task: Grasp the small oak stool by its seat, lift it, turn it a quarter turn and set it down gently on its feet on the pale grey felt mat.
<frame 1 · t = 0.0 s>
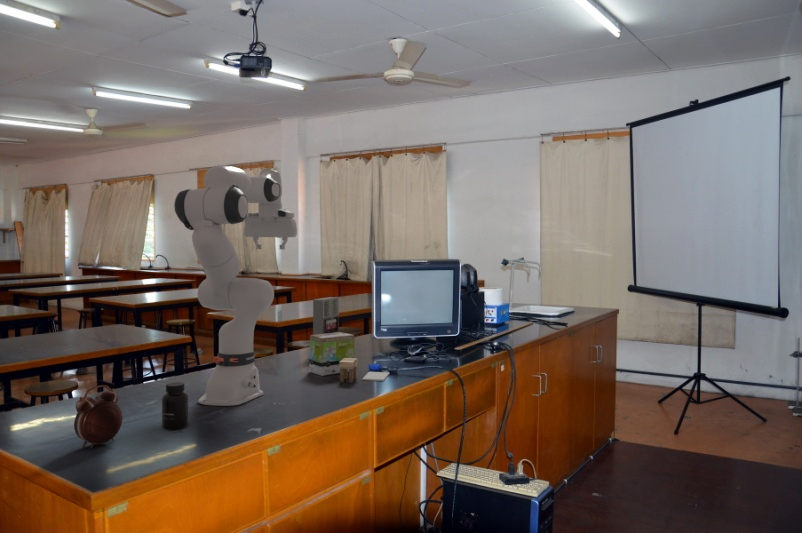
hand: (270, 249, 232), 48 cm above the table, tool pointing down, fingers open, 8 cm apart
mat: (376, 377, 230), on the table
supplement bottle: (175, 427, 168), on the table
cassette tape recorder: (326, 353, 277), on the table
alarm clock: (98, 445, 153), on the table
tea box: (331, 372, 239), on the table
stool: (348, 380, 224), on the table
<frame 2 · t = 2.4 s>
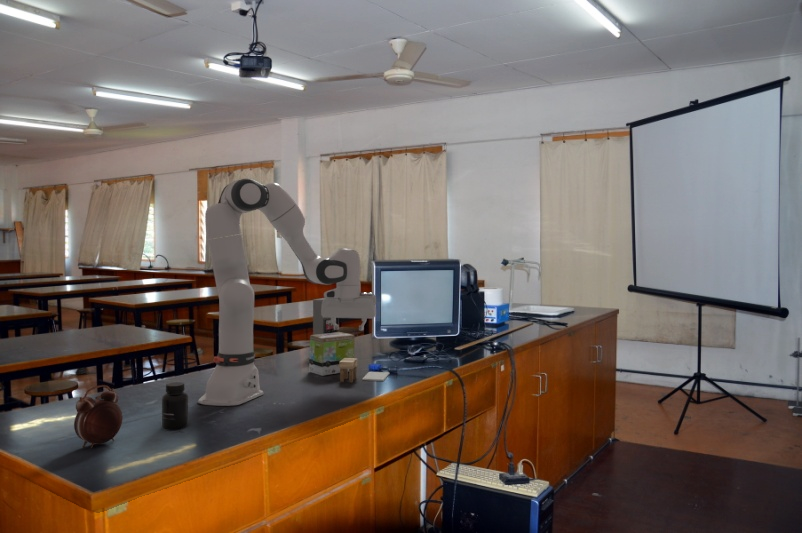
hand: (348, 330, 224), 19 cm above the table, tool pointing down, fingers open, 8 cm apart
nothing on the table moved.
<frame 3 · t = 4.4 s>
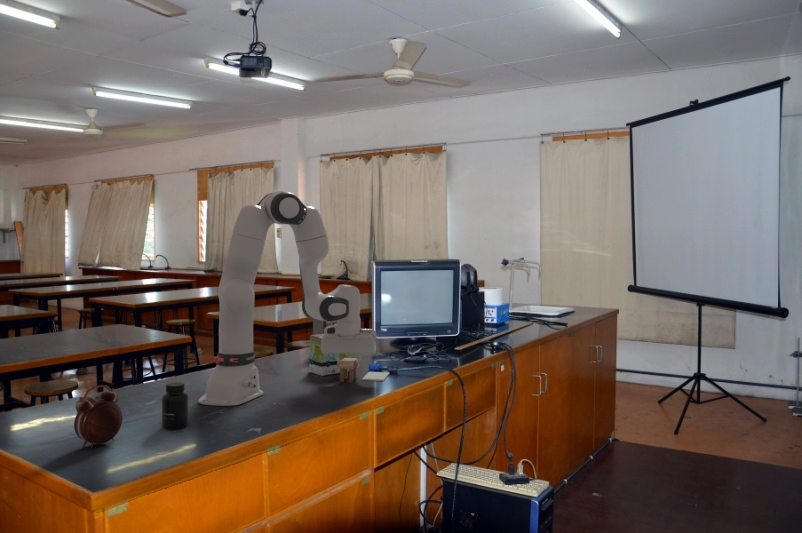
hand: (348, 365, 224), 5 cm above the table, tool pointing down, fingers closed on stool, 5 cm apart
stool: (348, 380, 224), on the table, touching gripper
everything else where it was.
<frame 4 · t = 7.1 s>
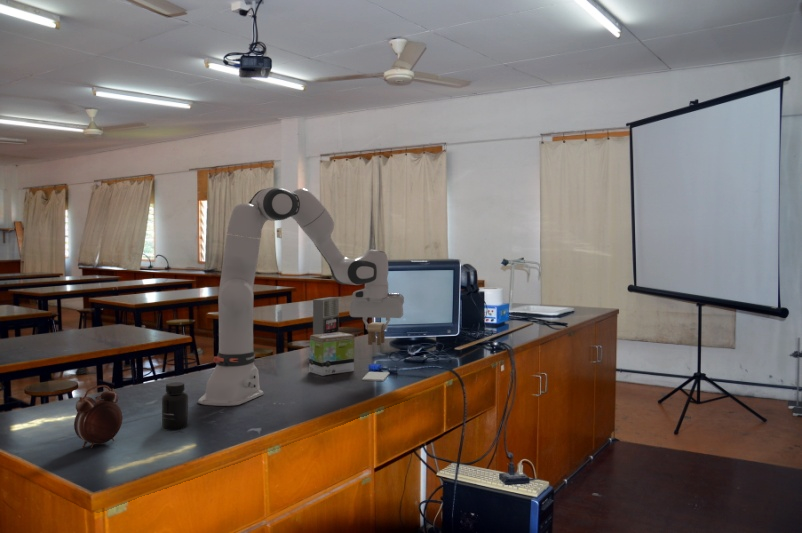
hand: (376, 329, 229), 18 cm above the table, tool pointing down, fingers closed on stool, 5 cm apart
stool: (376, 343, 229), point 13 cm above the table, touching gripper
everything else where it was.
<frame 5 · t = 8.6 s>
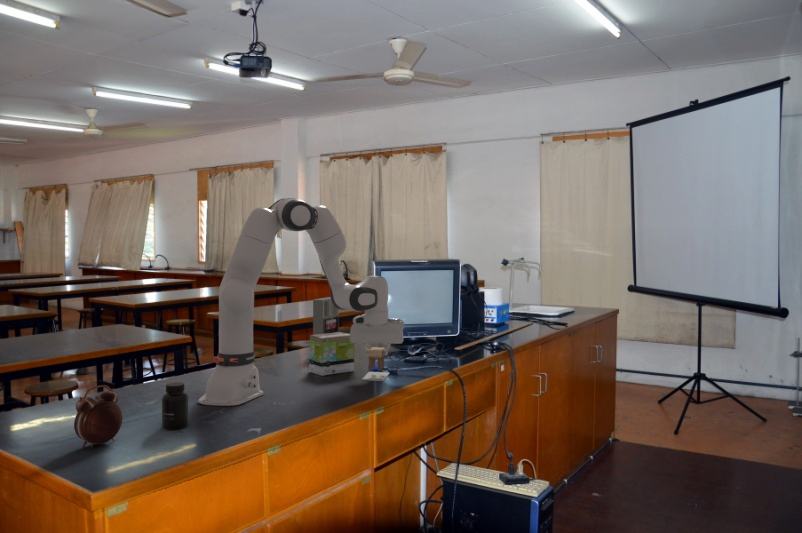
hand: (376, 354, 229), 8 cm above the table, tool pointing down, fingers closed on stool, 5 cm apart
stool: (376, 368, 230), point 3 cm above the table, touching gripper
everything else where it was.
when the fingers open (7 cm above the table, at t = 9.8 s): stool stays where it is, resting on mat.
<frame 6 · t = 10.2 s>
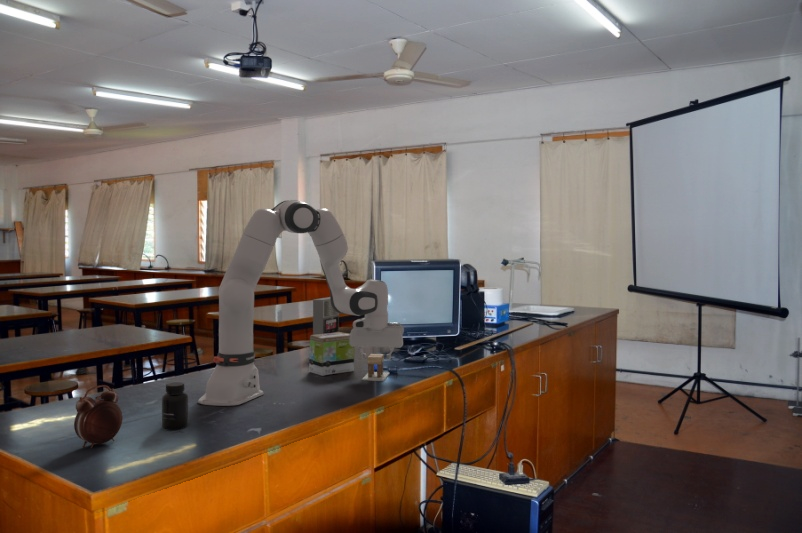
hand: (376, 358, 229), 7 cm above the table, tool pointing down, fingers open, 8 cm apart
stool: (375, 375, 230), point 1 cm above the table, touching mat
everything else where it was.
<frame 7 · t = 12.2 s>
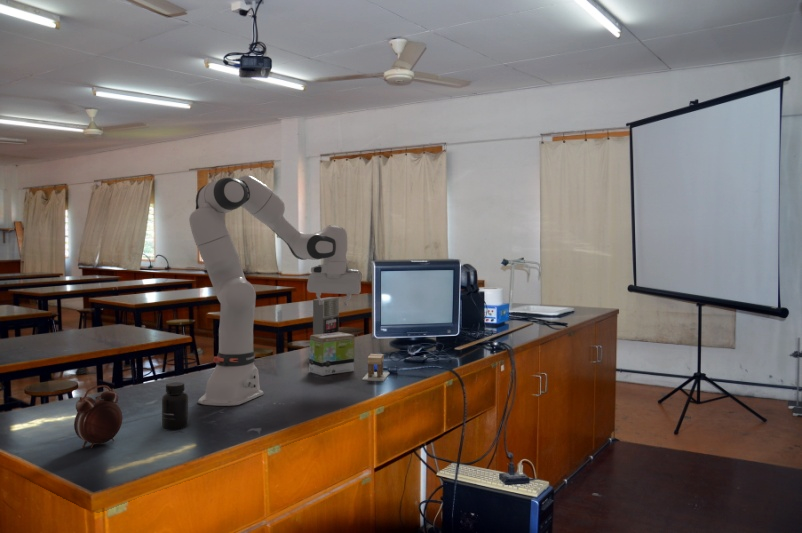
hand: (333, 305, 230), 27 cm above the table, tool pointing down, fingers open, 8 cm apart
nothing on the table moved.
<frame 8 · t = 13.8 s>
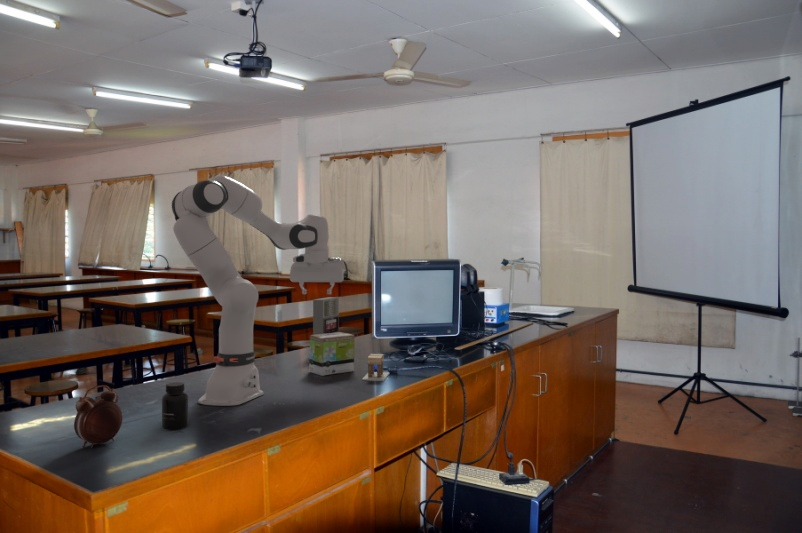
hand: (316, 294, 231), 31 cm above the table, tool pointing down, fingers open, 8 cm apart
nothing on the table moved.
at the end: stool inside the target area on the mat (0.2 cm from its centre), point 0.6 cm above the mat's base; stool tilted 0°; the gripper is holding nothing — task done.
